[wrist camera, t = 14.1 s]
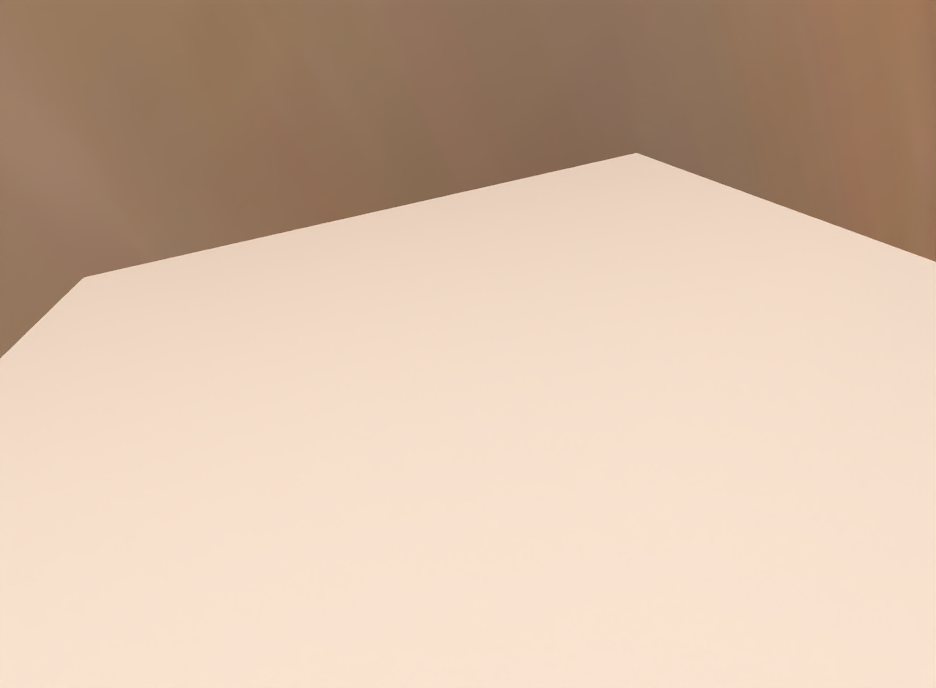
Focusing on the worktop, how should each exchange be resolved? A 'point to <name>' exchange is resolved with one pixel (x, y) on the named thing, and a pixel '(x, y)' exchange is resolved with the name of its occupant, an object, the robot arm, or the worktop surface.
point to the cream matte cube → (483, 452)
